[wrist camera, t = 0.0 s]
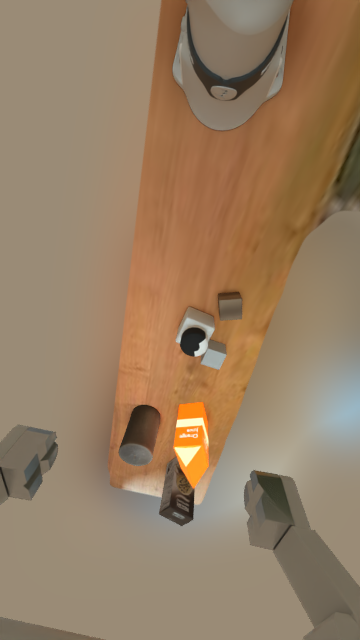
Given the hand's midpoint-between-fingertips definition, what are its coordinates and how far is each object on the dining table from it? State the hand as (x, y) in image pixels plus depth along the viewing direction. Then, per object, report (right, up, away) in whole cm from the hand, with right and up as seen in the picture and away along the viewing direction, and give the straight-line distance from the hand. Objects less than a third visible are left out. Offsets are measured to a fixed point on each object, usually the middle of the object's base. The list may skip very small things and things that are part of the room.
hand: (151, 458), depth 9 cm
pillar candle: (-10, -26, +67) cm, 72 cm away
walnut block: (+13, +10, +47) cm, 50 cm away
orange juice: (+6, -24, +64) cm, 69 cm away
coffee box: (+2, -48, +76) cm, 90 cm away
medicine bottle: (+5, +5, +50) cm, 51 cm away
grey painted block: (+10, -2, +53) cm, 54 cm away
